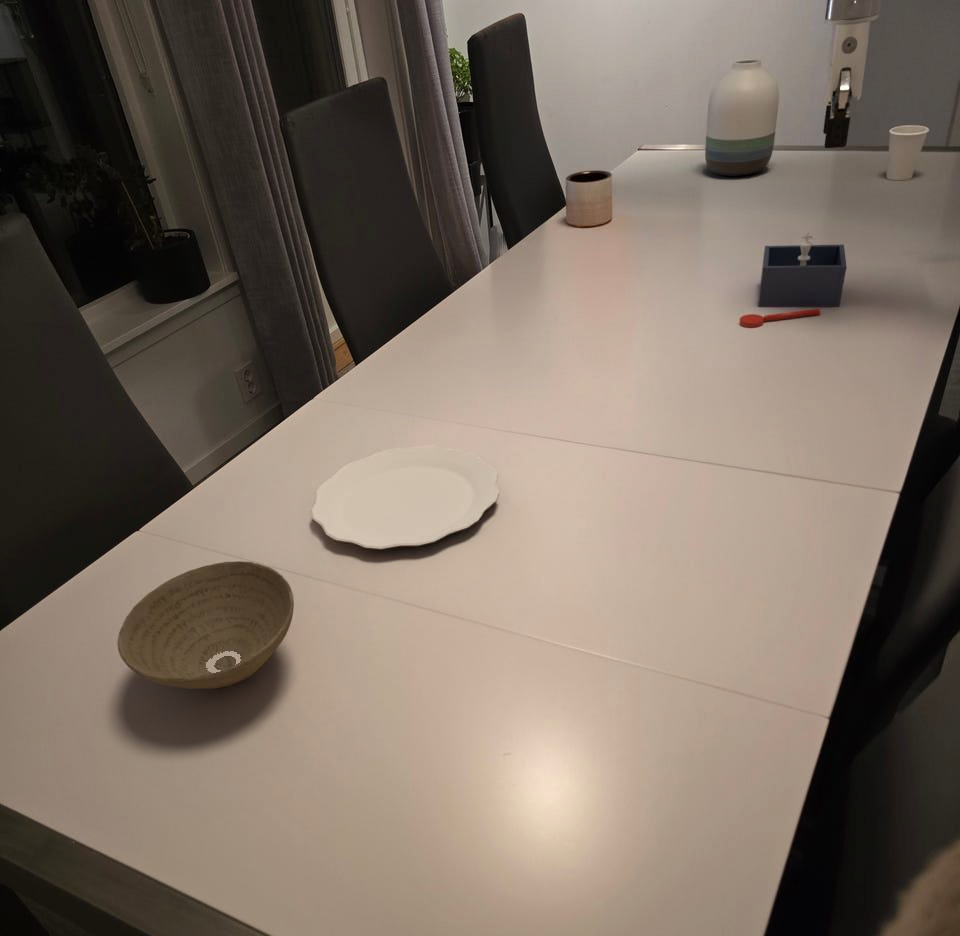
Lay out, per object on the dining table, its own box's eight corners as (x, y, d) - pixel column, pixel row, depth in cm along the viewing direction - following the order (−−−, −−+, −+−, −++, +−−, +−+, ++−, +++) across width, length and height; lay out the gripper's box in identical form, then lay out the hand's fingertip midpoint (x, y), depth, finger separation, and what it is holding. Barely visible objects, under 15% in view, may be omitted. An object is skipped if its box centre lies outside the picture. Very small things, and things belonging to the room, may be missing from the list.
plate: (438, 577, 99) (436, 564, 98) (277, 535, 110) (273, 522, 109) (531, 473, 115) (530, 461, 114) (382, 445, 125) (380, 433, 124)
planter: (561, 228, 197) (560, 183, 190) (572, 214, 204) (571, 170, 198) (607, 227, 193) (607, 182, 187) (616, 213, 201) (616, 169, 194)
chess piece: (786, 285, 154) (794, 227, 148) (814, 285, 153) (823, 227, 146) (783, 294, 151) (792, 236, 144) (812, 295, 150) (822, 236, 143)
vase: (758, 160, 224) (770, 52, 208) (780, 175, 211) (794, 61, 195) (696, 168, 224) (702, 61, 208) (713, 183, 211) (722, 70, 195)
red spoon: (815, 310, 147) (816, 304, 146) (824, 318, 144) (825, 312, 143) (736, 320, 147) (737, 314, 146) (743, 328, 144) (744, 323, 143)
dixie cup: (886, 183, 197) (896, 135, 190) (875, 174, 203) (884, 127, 197) (923, 179, 196) (934, 131, 190) (911, 171, 203) (921, 123, 196)
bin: (836, 283, 155) (843, 244, 150) (839, 306, 147) (846, 266, 142) (760, 283, 158) (764, 245, 154) (758, 306, 150) (763, 267, 146)
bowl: (111, 725, 86) (78, 670, 81) (187, 611, 99) (164, 557, 94) (277, 737, 82) (254, 680, 77) (333, 617, 96) (317, 561, 90)
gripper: (884, 13, 117) (861, 151, 128) (876, -2, 129) (856, 126, 140) (826, 19, 119) (809, 154, 130) (824, 4, 131) (808, 129, 142)
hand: (834, 139), depth 135 cm, fingers open, 9 cm apart
